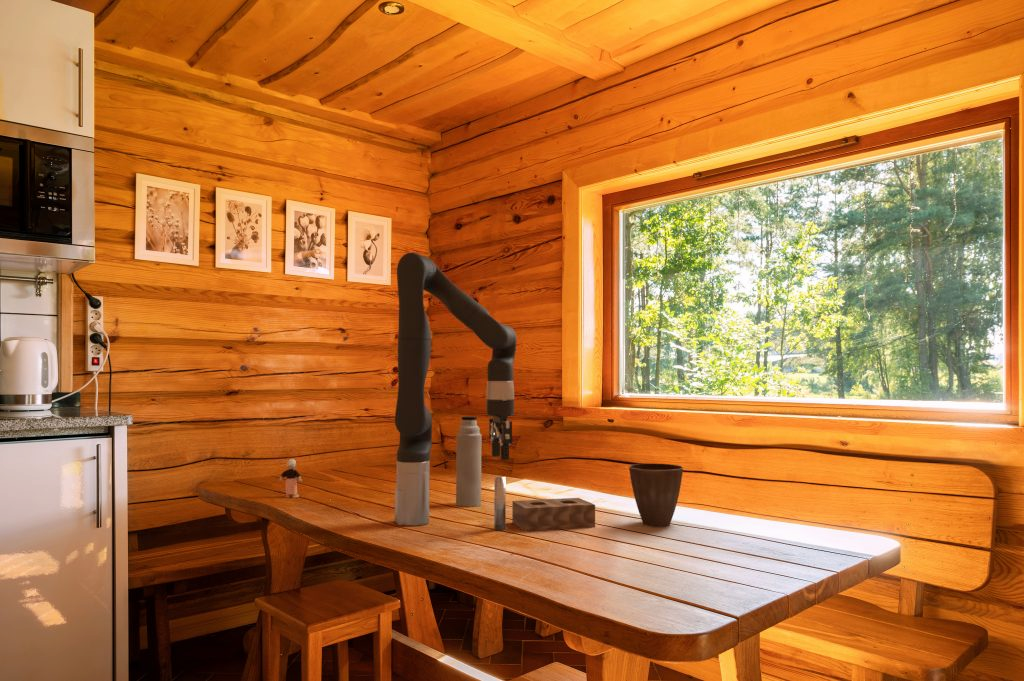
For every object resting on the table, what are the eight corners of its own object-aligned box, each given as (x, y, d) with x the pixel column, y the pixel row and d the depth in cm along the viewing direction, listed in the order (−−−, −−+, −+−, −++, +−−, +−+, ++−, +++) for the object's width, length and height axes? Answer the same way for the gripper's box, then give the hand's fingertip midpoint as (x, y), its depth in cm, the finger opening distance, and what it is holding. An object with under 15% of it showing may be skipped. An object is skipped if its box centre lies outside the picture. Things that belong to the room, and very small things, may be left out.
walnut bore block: (525, 531, 200) (525, 507, 200) (512, 522, 211) (512, 500, 212) (595, 526, 206) (595, 504, 206) (578, 518, 217) (578, 497, 218)
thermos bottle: (458, 502, 244) (459, 415, 245) (482, 502, 243) (483, 416, 244) (454, 506, 236) (454, 417, 237) (479, 507, 235) (479, 417, 236)
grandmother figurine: (303, 495, 255) (303, 458, 256) (300, 497, 251) (301, 459, 252) (280, 496, 255) (280, 458, 255) (277, 497, 251) (278, 459, 252)
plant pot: (659, 531, 200) (659, 471, 200) (617, 523, 211) (617, 465, 212) (694, 524, 209) (694, 467, 210) (652, 516, 221) (652, 462, 221)
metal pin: (496, 530, 200) (496, 477, 201) (492, 528, 203) (493, 476, 204) (506, 530, 201) (507, 477, 202) (503, 527, 204) (503, 475, 204)
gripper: (480, 397, 209) (480, 455, 209) (494, 398, 196) (494, 461, 195) (506, 397, 211) (505, 455, 211) (521, 398, 198) (521, 460, 197)
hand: (500, 458), depth 203 cm, fingers open, 8 cm apart
